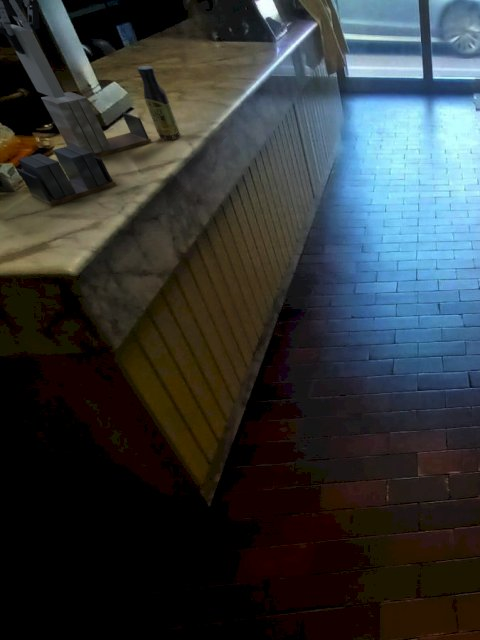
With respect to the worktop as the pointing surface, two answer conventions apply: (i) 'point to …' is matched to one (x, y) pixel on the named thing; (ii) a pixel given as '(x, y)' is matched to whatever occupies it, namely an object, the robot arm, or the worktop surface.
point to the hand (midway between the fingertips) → (29, 52)
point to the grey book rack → (53, 183)
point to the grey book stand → (91, 126)
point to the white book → (37, 64)
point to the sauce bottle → (158, 105)
